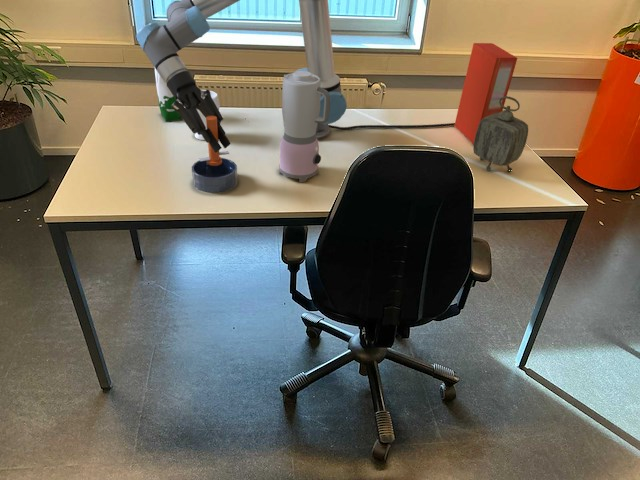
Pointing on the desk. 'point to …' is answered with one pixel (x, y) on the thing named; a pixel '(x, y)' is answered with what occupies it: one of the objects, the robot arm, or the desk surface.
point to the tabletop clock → (501, 137)
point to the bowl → (214, 176)
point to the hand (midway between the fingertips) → (223, 148)
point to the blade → (213, 156)
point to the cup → (216, 101)
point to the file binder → (484, 86)
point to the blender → (301, 124)
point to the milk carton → (165, 100)
